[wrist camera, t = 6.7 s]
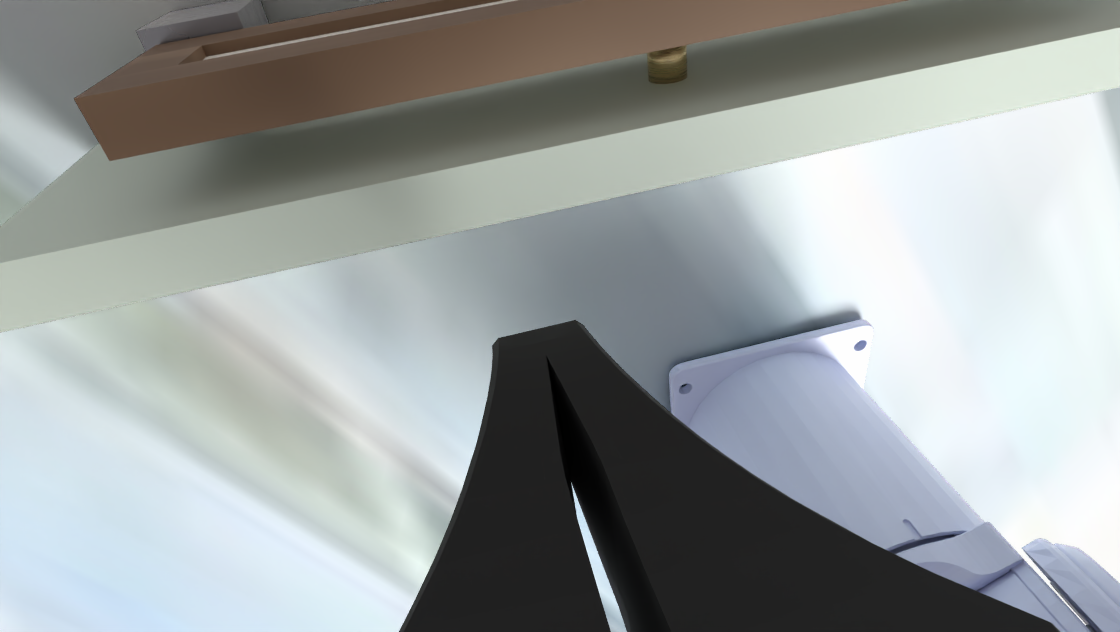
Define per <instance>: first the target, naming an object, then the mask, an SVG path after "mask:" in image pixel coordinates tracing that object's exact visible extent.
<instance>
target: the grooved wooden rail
mask: <svg viewBox="0 0 1120 632" xmlns="http://www.w3.org/2000/svg"><path fill="white" fill-rule="evenodd" d="M903 1H908V0H394V1H388V2H383V3H378V4H372V5H367V6H362V7H356V8H351V9H346V10H340V11H335V12H329V13H324V14H319V15H313V16H308V17H303V18H297V19H292V20H287V21H281V22H276V23H271V24H265V25H260V26H255V27H249V28H244V29H239V30H233V31H228V32H223V33H217V34H212V35H207V36H201V37H196V38H191V39H185V40H180V41H175V42H169V43H164V44H159V45H155V46H154V47H152V48H151V49H149V50H148V51H146V52H145V53H143V54H142V55H140V56H138V57H137V58H135V59H134V60H132V61H131V62H129V63H128V64H126V65H125V66H123V67H122V68H120V69H118V70H117V71H115V72H114V73H112V74H111V75H109V76H108V77H106V78H105V79H103V80H102V81H100V82H98V83H97V84H95V85H94V86H92V87H91V88H89V89H88V90H86V91H85V92H83V93H82V94H80V95H79V96H77V97H75V98H74V100H75V102H76V104H77V105H78V107H79V109H80V111H81V112H82V114H83V116H84V118H85V119H86V121H87V123H88V124H89V126H90V128H91V130H92V131H93V133H94V135H95V137H96V138H97V140H98V142H99V144H100V145H101V147H102V149H103V151H104V152H105V154H106V156H107V158H108V159H109V161H113V160H118V159H123V158H128V157H133V156H138V155H143V154H148V153H153V152H158V151H163V150H168V149H173V148H178V147H183V146H188V145H193V144H198V143H203V142H208V141H213V140H218V139H223V138H228V137H232V136H237V135H242V134H247V133H252V132H257V131H262V130H267V129H272V128H277V127H282V126H287V125H292V124H297V123H302V122H307V121H312V120H317V119H322V118H327V117H332V116H337V115H342V114H347V113H352V112H357V111H362V110H367V109H372V108H376V107H381V106H386V105H391V104H396V103H401V102H406V101H411V100H416V99H421V98H426V97H431V96H436V95H441V94H446V93H451V92H456V91H461V90H466V89H471V88H476V87H481V86H486V85H491V84H496V83H501V82H506V81H511V80H516V79H520V78H525V77H530V76H535V75H540V74H545V73H550V72H555V71H560V70H565V69H570V68H575V67H580V66H585V65H590V64H595V63H600V62H605V61H610V60H615V59H620V58H625V57H630V56H635V55H640V54H645V53H650V52H655V51H660V50H664V49H669V48H674V47H679V46H684V45H689V44H694V43H699V42H704V41H709V40H714V39H719V38H724V37H729V36H734V35H739V34H744V33H749V32H754V31H759V30H764V29H769V28H774V27H779V26H784V25H789V24H794V23H799V22H804V21H809V20H813V19H818V18H823V17H828V16H833V15H838V14H843V13H848V12H853V11H858V10H863V9H868V8H873V7H878V6H883V5H888V4H893V3H898V2H903Z"/></svg>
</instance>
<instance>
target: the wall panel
mask: <svg viewBox="0 0 1120 632" xmlns="http://www.w3.org/2000/svg"><path fill="white" fill-rule="evenodd" d="M265 24H269V22H268V19H267V17H266V14H265V11H264V9H263V6H262V3H261V1H260V0H231V1H226V2H220V3H215V4H209V5H204V6H198V7H193V8H187V9H182V10H177V11H171V12H169V13H167V14H166V15H164V16H162V17H160V18H158V19H156V20H155V21H153V22H151V23H149V24H147V25H145V26H143V27H142V28H140V29H138V30H136V33H137V35H138V37H139V39H140V41H141V43H142V45H143V47H144V49H145V51H148V50H149V49H151V48H152V47H154V46H155V45H159V44H164V43H169V42H175V41H180V40H185V39H191V38H196V37H201V36H207V35H212V34H217V33H223V32H228V31H233V30H239V29H244V28H249V27H255V26H260V25H265ZM1118 87H1120V0H908V1H903V2H898V3H893V4H888V5H883V6H878V7H873V8H868V9H863V10H858V11H853V12H848V13H843V14H838V15H833V16H828V17H823V18H818V19H813V20H809V21H804V22H799V23H794V24H789V25H784V26H779V27H774V28H769V29H764V30H759V31H754V32H749V33H744V34H739V35H734V36H729V37H724V38H719V39H714V40H709V41H704V42H699V43H694V44H689V45H684V46H679V47H674V48H669V49H664V50H660V51H655V52H650V53H645V54H640V55H635V56H630V57H625V58H620V59H615V60H610V61H605V62H600V63H595V64H590V65H585V66H580V67H575V68H570V69H565V70H560V71H555V72H550V73H545V74H540V75H535V76H530V77H525V78H520V79H516V80H511V81H506V82H501V83H496V84H491V85H486V86H481V87H476V88H471V89H466V90H461V91H456V92H451V93H446V94H441V95H436V96H431V97H426V98H421V99H416V100H411V101H406V102H401V103H396V104H391V105H386V106H381V107H376V108H372V109H367V110H362V111H357V112H352V113H347V114H342V115H337V116H332V117H327V118H322V119H317V120H312V121H307V122H302V123H297V124H292V125H287V126H282V127H277V128H272V129H267V130H262V131H257V132H252V133H247V134H242V135H237V136H232V137H228V138H223V139H218V140H213V141H208V142H203V143H198V144H193V145H188V146H183V147H178V148H173V149H168V150H163V151H158V152H153V153H148V154H143V155H138V156H133V157H128V158H123V159H118V160H113V161H109V159H108V158H107V156H106V154H105V152H104V151H103V149H102V147H101V145H100V144H99V143H98V144H97V145H96V146H95V147H94V148H92V149H91V150H90V151H89V152H88V153H86V154H85V155H84V156H83V157H82V158H81V159H79V160H78V161H77V162H76V163H75V164H73V165H72V166H71V167H70V168H69V169H68V170H66V171H65V172H64V173H63V174H62V175H60V176H59V177H58V178H57V179H56V180H55V181H53V182H52V183H51V184H50V185H49V186H47V187H46V188H45V189H44V190H43V191H42V192H40V193H39V194H38V195H37V196H36V197H34V198H33V199H32V200H31V201H30V202H29V203H27V204H26V205H25V206H24V207H23V208H21V209H20V210H19V211H18V212H17V213H16V214H14V215H13V216H12V217H11V218H10V219H8V220H7V221H6V222H5V223H4V224H3V225H1V226H0V333H1V332H5V331H10V330H14V329H19V328H24V327H28V326H33V325H37V324H42V323H46V322H51V321H55V320H60V319H65V318H69V317H74V316H78V315H83V314H87V313H92V312H97V311H101V310H106V309H110V308H115V307H119V306H124V305H128V304H133V303H138V302H142V301H147V300H151V299H156V298H160V297H165V296H169V295H174V294H179V293H183V292H188V291H192V290H197V289H201V288H206V287H211V286H215V285H220V284H224V283H229V282H233V281H238V280H242V279H247V278H252V277H256V276H261V275H265V274H270V273H274V272H279V271H284V270H288V269H293V268H297V267H302V266H306V265H311V264H315V263H320V262H325V261H329V260H334V259H338V258H343V257H347V256H352V255H357V254H361V253H366V252H370V251H375V250H379V249H384V248H388V247H393V246H398V245H402V244H407V243H411V242H416V241H420V240H425V239H429V238H434V237H439V236H443V235H448V234H452V233H457V232H461V231H466V230H471V229H475V228H480V227H484V226H489V225H493V224H498V223H502V222H507V221H512V220H516V219H521V218H525V217H530V216H534V215H539V214H544V213H548V212H553V211H557V210H562V209H566V208H571V207H575V206H580V205H585V204H589V203H594V202H598V201H603V200H607V199H612V198H617V197H621V196H626V195H630V194H635V193H639V192H644V191H648V190H653V189H658V188H662V187H667V186H671V185H676V184H680V183H685V182H689V181H694V180H699V179H703V178H708V177H712V176H717V175H721V174H726V173H731V172H735V171H740V170H744V169H749V168H753V167H758V166H762V165H767V164H772V163H776V162H781V161H785V160H790V159H794V158H799V157H804V156H808V155H813V154H817V153H822V152H826V151H831V150H835V149H840V148H845V147H849V146H854V145H858V144H863V143H867V142H872V141H877V140H881V139H886V138H890V137H895V136H899V135H904V134H908V133H913V132H918V131H922V130H927V129H931V128H936V127H940V126H945V125H949V124H954V123H959V122H963V121H968V120H972V119H977V118H981V117H986V116H991V115H995V114H1000V113H1004V112H1009V111H1013V110H1018V109H1022V108H1027V107H1032V106H1036V105H1041V104H1045V103H1050V102H1054V101H1059V100H1064V99H1068V98H1073V97H1077V96H1082V95H1086V94H1091V93H1095V92H1100V91H1105V90H1109V89H1114V88H1118Z"/></svg>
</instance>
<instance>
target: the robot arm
mask: <svg viewBox="0 0 1120 632" xmlns="http://www.w3.org/2000/svg"><path fill="white" fill-rule="evenodd" d="M873 332H874V330H873V327H872V325H871V324H870V323H869V322H867V321H866V320H863V319H861V320H855V321H851V322H847V323H843V324H839V325H835V326H831V327H827V328H822V329H818V330H814V331H810V332H806V333H802V334H798V335H794V336H790V337H786V338H781V339H777V340H773V341H769V342H765V343H761V344H757V345H753V346H749V347H744V348H740V349H736V350H732V351H728V352H724V353H720V354H716V355H712V356H708V357H703V358H699V359H695V360H691V361H687V362H683V363H680V364H677V365H676V366H674V367H673V368H672V369H671V371H670V373H669V386H670V404H671V413H670V412H669V411H668V410H667V409H666V408H665V407H663V406H662V405H661V404H660V403H659V402H658V401H657V400H655V399H654V398H653V397H652V396H651V395H650V394H649V393H648V392H647V391H646V390H644V389H643V388H642V387H641V386H640V385H639V384H638V383H637V382H636V381H635V380H634V379H632V378H631V377H630V376H629V375H628V374H627V373H626V372H625V371H624V370H623V369H622V368H621V367H620V366H619V365H618V364H617V363H616V362H615V361H614V360H613V359H612V358H611V356H610V355H609V354H608V353H607V352H606V351H605V350H604V349H603V348H602V347H601V346H600V345H599V343H598V342H597V341H596V340H595V339H594V338H593V336H592V335H591V334H590V333H589V332H588V330H587V329H586V328H585V326H584V325H583V324H581V323H579V322H578V321H576V320H574V321H570V322H565V323H561V324H557V325H553V326H548V327H544V328H540V329H536V330H531V331H527V332H523V333H518V334H514V335H510V336H506V337H501V338H498V339H497V340H496V342H495V343H494V344H493V346H492V349H493V360H492V372H491V380H490V386H489V391H488V397H487V402H486V407H485V411H484V415H483V419H482V423H481V428H480V432H479V436H478V440H477V443H476V447H475V450H474V453H473V457H472V460H471V463H470V466H469V469H468V472H467V475H466V479H465V482H464V485H463V488H462V491H461V494H460V497H459V499H458V502H457V505H456V507H455V510H454V513H453V515H452V518H451V521H450V523H449V526H448V528H447V530H446V533H445V535H444V538H443V540H442V542H441V545H440V547H439V550H438V552H437V554H436V556H435V559H434V561H433V563H432V565H431V567H430V569H429V572H428V574H427V576H426V578H425V580H424V582H423V584H422V586H421V588H420V591H419V593H418V595H417V597H416V599H415V601H414V603H413V605H412V607H411V609H410V611H409V613H408V615H407V617H406V619H405V621H404V623H403V625H402V627H401V629H400V631H399V632H611V631H610V628H609V625H608V621H607V618H606V615H605V611H604V608H603V605H602V601H601V598H600V595H599V591H598V588H597V585H596V581H595V578H594V574H593V571H592V568H591V564H590V561H589V557H588V554H587V551H586V547H585V544H584V540H583V537H582V534H581V530H580V527H579V523H578V520H577V515H576V509H575V503H574V497H573V491H572V485H573V488H574V490H575V493H576V496H577V498H578V501H579V504H580V506H581V509H582V512H583V514H584V517H585V519H586V522H587V525H588V527H589V530H590V533H591V535H592V538H593V540H594V543H595V546H596V548H597V551H598V554H599V556H600V559H601V561H602V564H603V567H604V569H605V572H606V575H607V577H608V580H609V582H610V585H611V588H612V590H613V593H614V595H615V598H616V601H617V603H618V606H619V609H620V612H621V615H622V618H623V621H624V624H625V627H626V630H627V632H1120V583H1119V582H1118V581H1117V580H1116V579H1114V578H1113V577H1112V576H1111V575H1110V574H1109V573H1108V572H1107V571H1106V570H1105V569H1103V568H1102V567H1101V566H1100V565H1099V564H1098V563H1097V562H1095V561H1094V560H1093V559H1092V558H1091V557H1089V556H1088V555H1087V554H1086V553H1084V552H1083V551H1082V550H1080V549H1079V548H1076V547H1072V546H1067V545H1062V544H1054V545H1053V544H1052V543H1050V542H1049V541H1047V540H1046V539H1041V538H1039V539H1036V540H1034V541H1032V542H1030V543H1029V544H1027V545H1026V546H1024V547H1022V549H1023V550H1024V551H1025V553H1026V554H1027V555H1028V556H1029V558H1030V559H1031V560H1032V561H1033V562H1034V563H1035V564H1036V566H1037V567H1038V568H1039V569H1040V570H1041V571H1042V572H1043V574H1044V575H1045V576H1046V577H1047V578H1048V579H1049V580H1050V581H1051V582H1050V584H1051V585H1052V586H1053V588H1054V589H1055V590H1056V591H1057V592H1058V593H1059V594H1060V596H1061V597H1062V598H1063V599H1064V600H1065V601H1066V602H1067V603H1068V605H1069V606H1070V607H1071V608H1072V609H1073V610H1074V611H1075V612H1076V614H1077V615H1078V616H1079V617H1080V618H1081V619H1082V620H1083V621H1084V622H1085V624H1086V626H1085V625H1084V624H1083V623H1082V621H1081V620H1080V619H1079V618H1078V617H1077V616H1076V615H1075V614H1074V613H1073V612H1072V611H1071V610H1070V608H1069V607H1068V606H1067V605H1066V604H1065V603H1064V602H1063V601H1062V600H1061V599H1060V598H1059V597H1058V596H1057V594H1056V593H1055V592H1054V591H1053V590H1052V589H1051V588H1050V587H1049V586H1048V585H1047V584H1046V583H1045V582H1044V580H1043V579H1042V578H1041V577H1040V576H1039V575H1038V574H1037V573H1036V572H1035V571H1034V570H1033V569H1032V568H1031V567H1030V566H1029V565H1028V564H1027V562H1026V561H1025V560H1024V559H1023V558H1022V557H1021V556H1020V555H1019V554H1018V553H1017V551H1016V550H1015V549H1014V548H1013V547H1012V546H1011V545H1010V544H1009V543H1008V542H1007V541H1006V539H1005V538H1004V537H1003V536H1002V535H1001V534H1000V533H999V532H998V531H997V530H996V529H995V528H994V526H993V525H992V524H991V523H989V522H984V521H983V520H982V519H981V518H980V516H979V515H978V514H977V513H976V512H975V511H974V510H973V509H972V508H971V507H970V505H969V504H968V503H967V502H966V501H965V500H964V499H963V498H962V497H961V496H960V494H959V493H958V492H957V491H956V490H955V489H954V488H953V487H952V486H951V485H950V484H949V482H948V481H947V480H946V479H945V478H944V477H943V476H942V475H941V474H940V473H939V471H938V470H937V469H936V468H935V467H934V466H933V465H932V464H931V463H930V462H929V460H928V459H927V458H926V457H925V456H924V455H923V454H922V453H921V452H920V451H919V449H918V448H917V447H916V446H915V445H914V444H913V443H912V442H911V441H910V440H909V439H908V437H907V436H906V435H905V434H904V433H903V432H902V431H901V430H900V429H899V428H898V426H897V425H896V424H895V423H894V422H893V421H892V420H891V419H890V418H889V417H888V415H887V414H886V413H885V412H884V411H883V410H882V409H881V408H880V407H879V406H878V404H877V403H876V402H875V401H874V400H873V399H872V398H871V397H870V396H869V395H868V394H867V392H866V391H865V390H864V389H863V388H864V382H865V377H866V371H867V366H868V360H869V355H870V349H871V343H872V338H873ZM857 342H858V343H857ZM856 343H857V344H856ZM683 384H687V385H686V386H684V387H682V388H680V387H681V386H682V385H683ZM571 482H572V485H571Z"/></svg>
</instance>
